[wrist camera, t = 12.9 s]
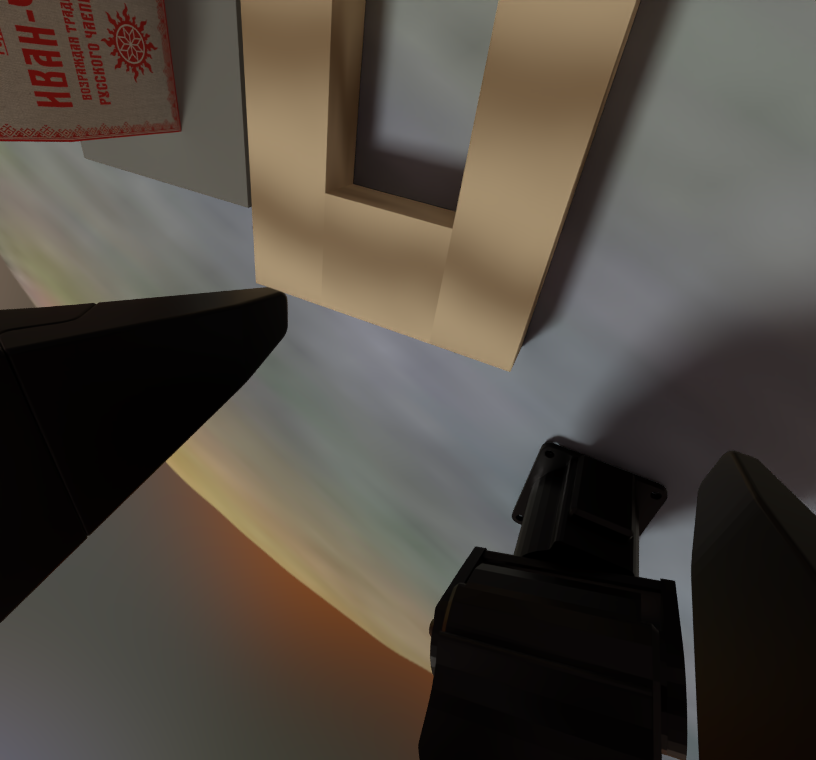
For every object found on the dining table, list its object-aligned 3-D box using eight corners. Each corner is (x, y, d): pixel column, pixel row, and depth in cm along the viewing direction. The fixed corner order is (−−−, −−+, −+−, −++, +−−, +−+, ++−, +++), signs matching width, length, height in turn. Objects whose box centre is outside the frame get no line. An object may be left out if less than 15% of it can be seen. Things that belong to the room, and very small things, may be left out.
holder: (521, 347, 23) (510, 371, 21) (284, 268, 26) (256, 282, 24) (761, -351, 11) (787, -446, 9) (275, -328, 14) (218, -393, 12)
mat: (252, 206, 25) (248, 207, 24) (90, 157, 28) (84, 158, 27) (231, -186, 17) (223, -191, 16) (5, -196, 20) (-5, -201, 19)
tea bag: (127, 117, 25) (-107, 130, 17) (96, -51, 21) (-229, -135, 13) (181, 131, 24) (-40, 152, 16) (158, -42, 20) (-150, -126, 12)
